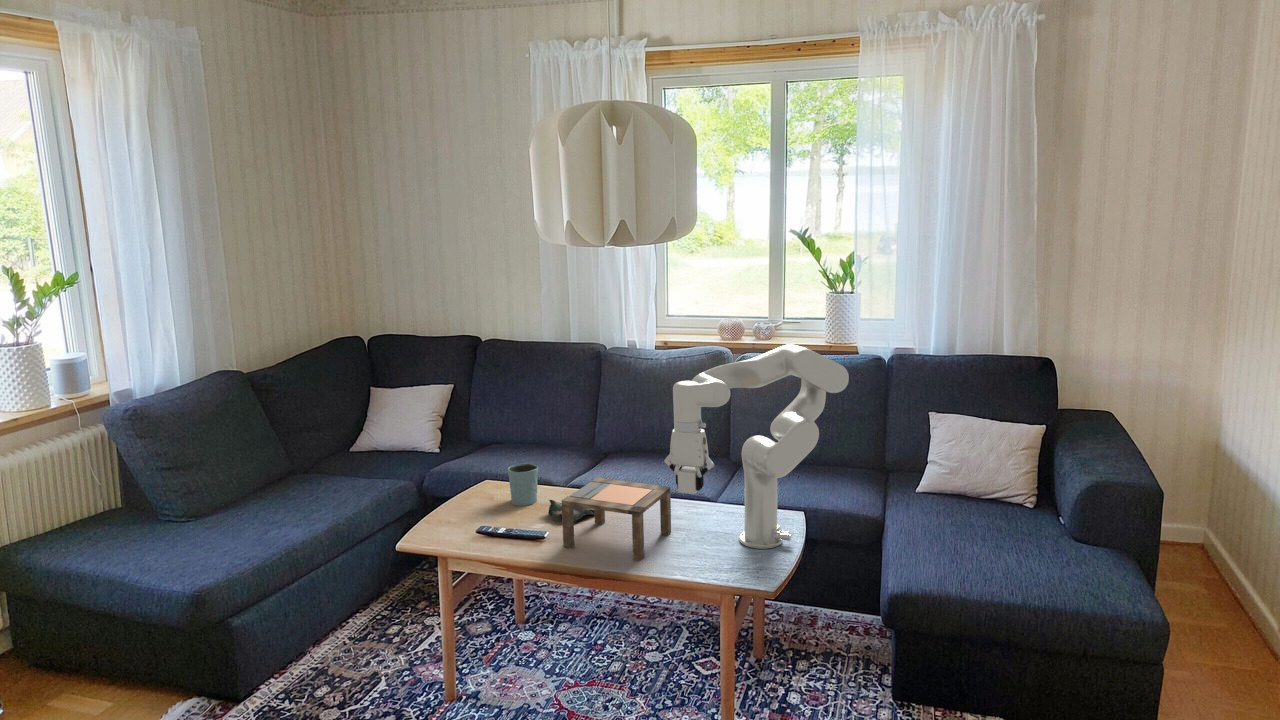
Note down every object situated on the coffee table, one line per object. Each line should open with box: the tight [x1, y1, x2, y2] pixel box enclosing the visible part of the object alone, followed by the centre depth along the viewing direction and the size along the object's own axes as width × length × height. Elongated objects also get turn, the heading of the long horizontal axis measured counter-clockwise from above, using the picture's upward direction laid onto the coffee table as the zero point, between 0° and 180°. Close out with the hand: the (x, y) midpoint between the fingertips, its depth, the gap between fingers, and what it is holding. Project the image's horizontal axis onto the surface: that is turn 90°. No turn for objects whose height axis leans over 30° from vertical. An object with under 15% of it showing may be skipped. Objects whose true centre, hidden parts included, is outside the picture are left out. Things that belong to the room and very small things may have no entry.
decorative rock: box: [547, 499, 595, 524], centre depth 273 cm, size 19×6×15 cm
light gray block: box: [677, 466, 699, 495], centre depth 236 cm, size 5×5×6 cm
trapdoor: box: [569, 481, 653, 511], centre depth 250 cm, size 21×14×4 cm
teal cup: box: [507, 462, 539, 507], centre depth 285 cm, size 10×10×12 cm
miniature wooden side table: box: [561, 477, 672, 562], centre depth 250 cm, size 25×22×14 cm
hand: (689, 487), depth 236 cm, fingers closed on light gray block, 5 cm apart
